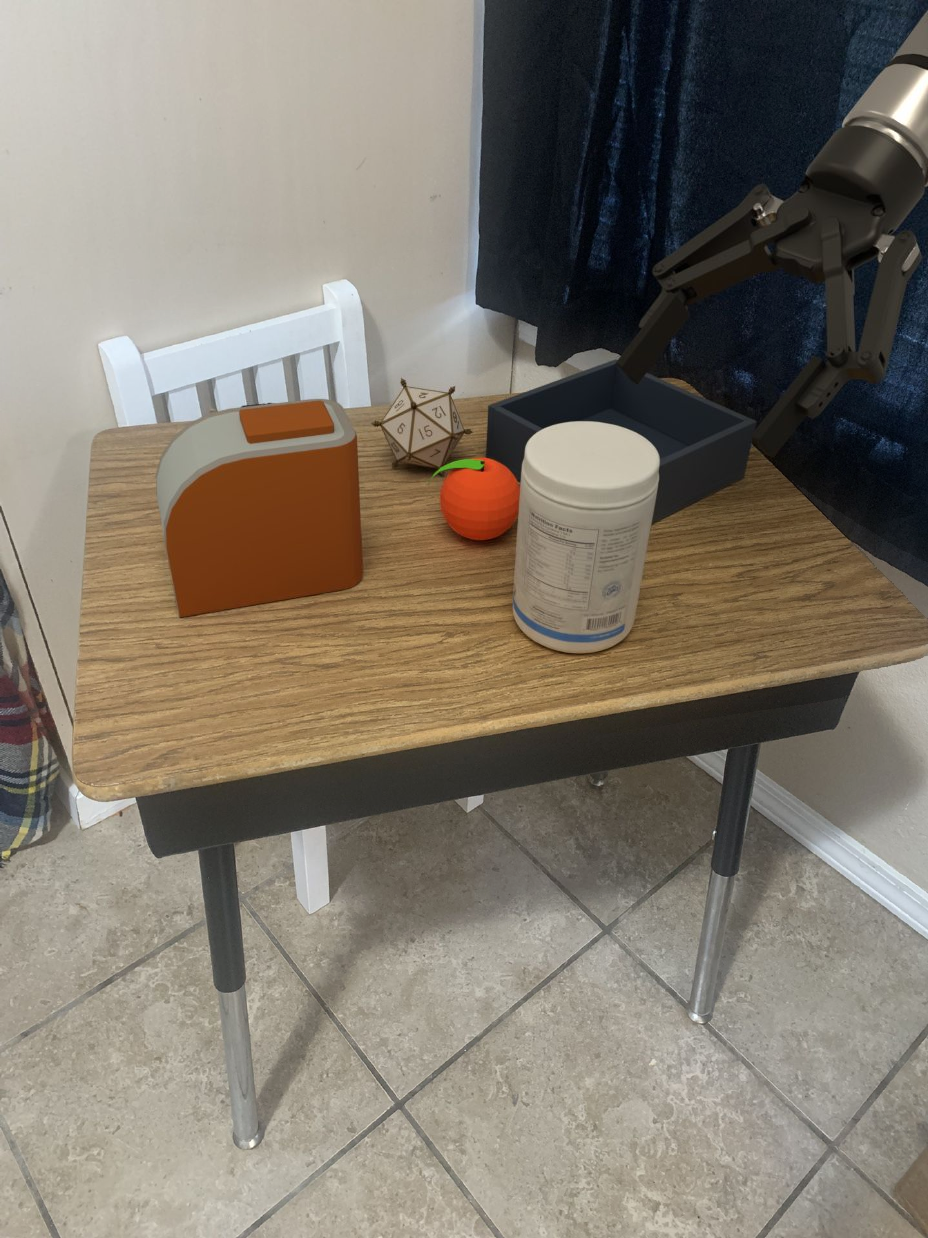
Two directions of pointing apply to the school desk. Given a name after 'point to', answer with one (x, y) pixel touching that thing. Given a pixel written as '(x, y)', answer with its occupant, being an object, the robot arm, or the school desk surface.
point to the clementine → (479, 498)
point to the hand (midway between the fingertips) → (689, 408)
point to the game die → (422, 427)
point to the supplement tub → (583, 534)
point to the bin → (633, 429)
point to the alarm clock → (261, 505)
